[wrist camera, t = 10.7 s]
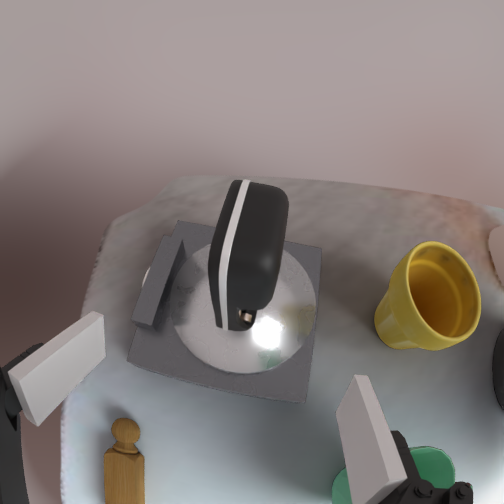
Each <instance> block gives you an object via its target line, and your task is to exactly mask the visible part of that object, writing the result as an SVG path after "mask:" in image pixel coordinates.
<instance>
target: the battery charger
mask: <svg viewBox="0 0 504 504" xmlns="http://www.w3.org/2000/svg"><path fill="white" fill-rule="evenodd" d="M288 208H289V201H288V198H287V195H286V194H285V192H284V191H283V190H281V189H280V188H277V187H274V186H270V185H265V184H259V183H254V182H251V180H247V179H244V180H234V181H233V182H232V184H231V186H230V188H229V191H228V193H227V196H226V199H225V202H224V205H223V208H222V211H221V214H220V217H219V220H218V223H217V226H216V229H215V232H214V236H213V239H212V243H211V247H210V251H209V258H208V279H209V287H210V294H211V300H212V305H213V309H214V315H215V322H216V326H217V327H219V328H222V329H223V330H226V331H228V330H231V331H247V330H249V329H250V328H252V327H253V325H254V322H255V319H256V314H257V310H262V309H264V308H265V307H266V306H267V305H268V304H269V302H270V301H271V300H272V298H273V295H274V291H275V288H276V284H277V280H278V275H279V271H280V266H281V260H282V253H283V246H284V239H285V232H286V225H287V218H288Z"/></svg>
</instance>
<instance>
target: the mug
mask: <svg viewBox="0 0 504 504" xmlns="http://www.w3.org/2000/svg"><path fill="white" fill-rule="evenodd" d="M409 450H410V452H411V455H412V457H413V459H414V462H415V464H416V467H417V470H418V472H419V475H420V477H421V479H424V480H427V481H429V482H430V483H432V485H433V486H434V488H446V489H449V488H450V487H451V486H452V485H453V484H455V483H457V482H455V469H454V466H453V463H452V461H451V458H450V457H449V456H448V455H447V454H446V453H445V452H444V451H443V450H441V449H437V448H434V447H430V446H421V447H413V448H409ZM467 484H469V483H467ZM469 485H470V486H471V488H472V485H471V484H469ZM332 503H333V504H352V499H351V493H350V486H349V481H348V475H347V469H346V468H344V469H343V470H342V471H341V472H340V473H339V474H338V475H337V476H336V478H335V480H334V482H333V486H332Z"/></svg>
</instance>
